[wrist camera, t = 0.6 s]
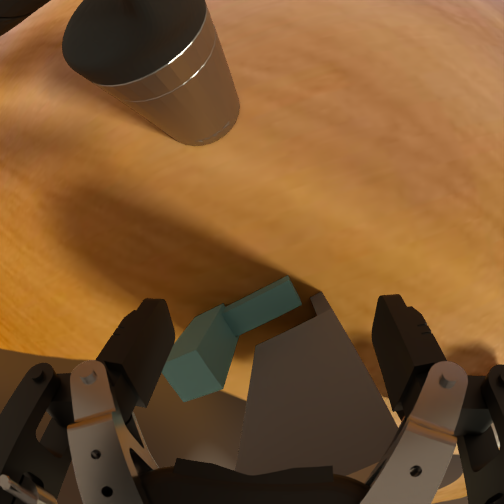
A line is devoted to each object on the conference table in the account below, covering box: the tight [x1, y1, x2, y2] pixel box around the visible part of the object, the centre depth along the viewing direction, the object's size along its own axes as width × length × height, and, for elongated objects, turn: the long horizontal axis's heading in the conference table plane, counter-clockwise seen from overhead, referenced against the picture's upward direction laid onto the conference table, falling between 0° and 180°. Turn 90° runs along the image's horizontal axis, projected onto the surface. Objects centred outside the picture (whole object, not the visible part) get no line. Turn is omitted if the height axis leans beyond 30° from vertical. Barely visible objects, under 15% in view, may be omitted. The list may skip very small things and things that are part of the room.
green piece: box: [162, 275, 302, 402], centre depth 26 cm, size 4×12×12 cm, turn 119°
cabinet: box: [235, 291, 398, 483], centre depth 20 cm, size 10×8×25 cm
